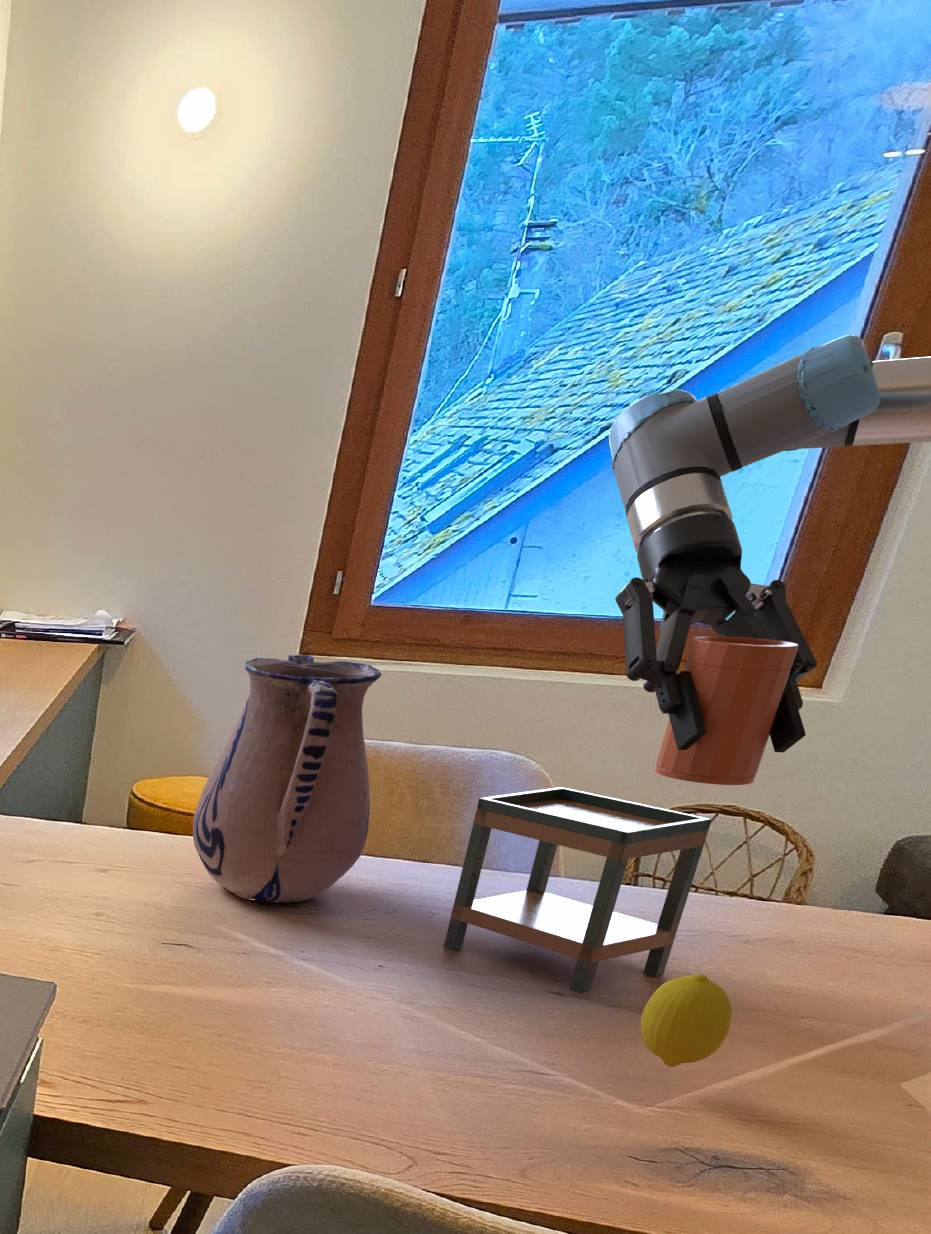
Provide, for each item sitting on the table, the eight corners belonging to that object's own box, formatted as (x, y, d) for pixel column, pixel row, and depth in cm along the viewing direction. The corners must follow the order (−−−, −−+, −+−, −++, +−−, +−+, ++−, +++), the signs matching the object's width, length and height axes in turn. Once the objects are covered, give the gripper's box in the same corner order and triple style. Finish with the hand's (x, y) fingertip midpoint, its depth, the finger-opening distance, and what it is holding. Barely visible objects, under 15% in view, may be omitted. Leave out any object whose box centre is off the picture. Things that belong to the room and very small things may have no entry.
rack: (663, 974, 124) (712, 819, 118) (581, 994, 119) (628, 832, 113) (522, 930, 135) (560, 786, 129) (443, 946, 131) (478, 798, 125)
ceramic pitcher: (322, 866, 154) (366, 648, 143) (389, 934, 135) (446, 688, 124) (168, 863, 156) (201, 648, 145) (213, 929, 137) (254, 687, 126)
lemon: (641, 1077, 103) (672, 984, 99) (618, 1047, 108) (648, 957, 104) (723, 1086, 101) (758, 992, 98) (697, 1055, 106) (729, 964, 103)
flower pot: (771, 781, 119) (817, 644, 114) (721, 788, 116) (766, 648, 111) (685, 765, 125) (725, 634, 120) (636, 771, 122) (675, 638, 117)
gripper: (769, 567, 127) (831, 769, 118) (549, 564, 128) (595, 763, 120) (827, 510, 120) (897, 720, 111) (594, 507, 121) (646, 714, 113)
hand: (740, 742), depth 116 cm, fingers closed on flower pot, 7 cm apart
